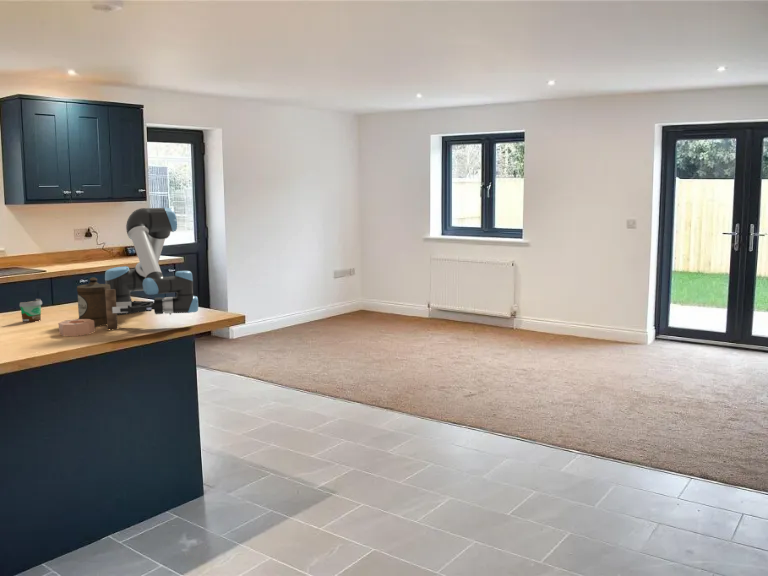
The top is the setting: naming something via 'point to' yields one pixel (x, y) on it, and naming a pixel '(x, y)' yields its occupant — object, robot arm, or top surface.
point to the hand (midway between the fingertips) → (114, 307)
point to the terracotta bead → (76, 327)
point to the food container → (31, 310)
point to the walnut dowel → (110, 303)
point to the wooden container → (93, 302)
